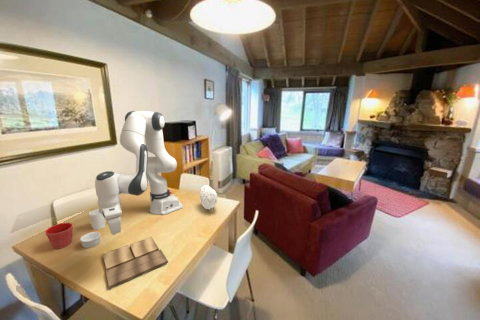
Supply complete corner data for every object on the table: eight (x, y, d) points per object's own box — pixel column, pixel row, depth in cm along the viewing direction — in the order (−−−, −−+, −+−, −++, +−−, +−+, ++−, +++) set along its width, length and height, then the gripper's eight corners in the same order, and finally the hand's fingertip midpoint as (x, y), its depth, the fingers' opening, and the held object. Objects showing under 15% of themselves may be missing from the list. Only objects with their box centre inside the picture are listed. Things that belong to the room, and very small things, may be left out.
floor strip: (160, 250, 107) (160, 248, 107) (168, 263, 99) (167, 260, 99) (105, 272, 92) (105, 269, 92) (109, 289, 84) (109, 286, 84)
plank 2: (151, 239, 116) (151, 236, 116) (158, 250, 107) (158, 248, 107) (130, 246, 109) (129, 244, 109) (135, 259, 100) (135, 257, 100)
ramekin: (81, 242, 112) (79, 235, 111) (100, 236, 118) (99, 229, 117) (81, 251, 106) (80, 243, 105) (102, 244, 111) (101, 237, 110)
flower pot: (59, 238, 115) (55, 222, 112) (80, 237, 116) (77, 222, 113) (43, 251, 105) (39, 234, 102) (66, 250, 106) (63, 233, 103)
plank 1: (127, 247, 109) (127, 244, 108) (133, 260, 100) (133, 258, 99) (103, 256, 102) (102, 253, 102) (106, 271, 93) (106, 268, 93)
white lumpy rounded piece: (220, 212, 147) (220, 190, 143) (206, 216, 142) (206, 193, 137) (210, 202, 162) (210, 182, 158) (197, 206, 156) (196, 184, 152)
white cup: (99, 231, 122) (96, 215, 120) (87, 229, 124) (85, 214, 121) (109, 224, 130) (107, 209, 127) (99, 222, 131) (96, 208, 129)
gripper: (99, 199, 102) (103, 224, 106) (105, 218, 87) (109, 246, 91) (114, 196, 106) (117, 220, 110) (122, 213, 91) (126, 240, 95)
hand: (114, 232), depth 100 cm, fingers closed
